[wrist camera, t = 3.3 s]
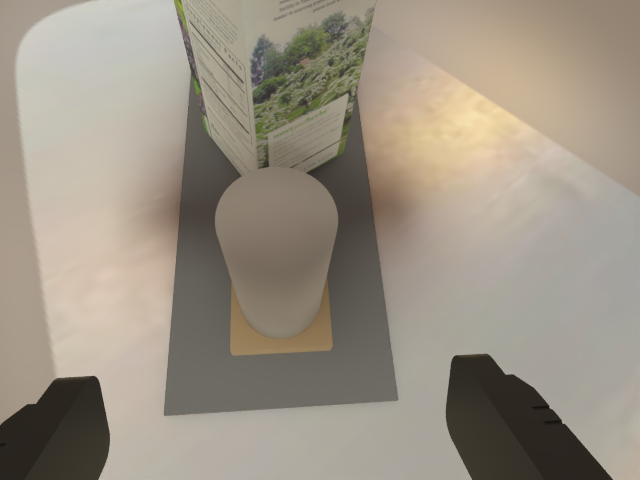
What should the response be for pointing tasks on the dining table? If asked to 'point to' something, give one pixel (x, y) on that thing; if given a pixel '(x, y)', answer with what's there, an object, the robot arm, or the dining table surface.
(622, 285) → the dining table surface
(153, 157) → the dining table surface
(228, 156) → the syrup box
